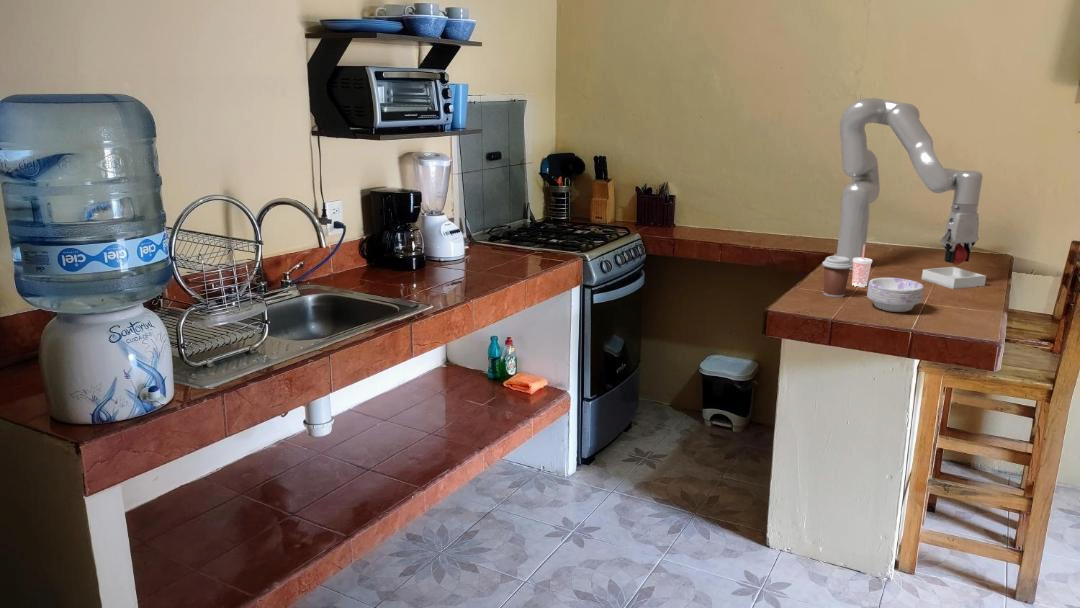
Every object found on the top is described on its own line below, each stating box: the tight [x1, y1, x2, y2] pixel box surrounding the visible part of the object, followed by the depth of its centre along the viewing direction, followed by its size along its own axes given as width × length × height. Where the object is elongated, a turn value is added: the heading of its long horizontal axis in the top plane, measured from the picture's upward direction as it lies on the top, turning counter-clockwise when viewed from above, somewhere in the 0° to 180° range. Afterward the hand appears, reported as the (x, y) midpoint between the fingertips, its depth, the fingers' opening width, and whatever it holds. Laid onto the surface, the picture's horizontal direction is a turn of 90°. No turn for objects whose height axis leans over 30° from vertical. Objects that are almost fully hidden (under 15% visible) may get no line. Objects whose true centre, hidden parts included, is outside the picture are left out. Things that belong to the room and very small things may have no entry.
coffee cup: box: [821, 255, 853, 298], centre depth 247 cm, size 9×9×12 cm
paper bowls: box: [866, 277, 925, 313], centre depth 233 cm, size 15×15×8 cm
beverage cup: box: [851, 245, 873, 288], centre depth 258 cm, size 6×6×14 cm
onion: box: [952, 243, 967, 267], centre depth 261 cm, size 6×6×8 cm
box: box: [921, 266, 987, 290], centre depth 264 cm, size 14×14×4 cm
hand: (956, 260), depth 262 cm, fingers closed on onion, 5 cm apart
